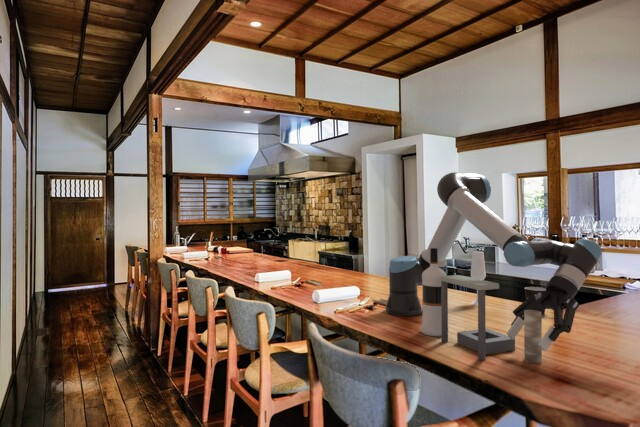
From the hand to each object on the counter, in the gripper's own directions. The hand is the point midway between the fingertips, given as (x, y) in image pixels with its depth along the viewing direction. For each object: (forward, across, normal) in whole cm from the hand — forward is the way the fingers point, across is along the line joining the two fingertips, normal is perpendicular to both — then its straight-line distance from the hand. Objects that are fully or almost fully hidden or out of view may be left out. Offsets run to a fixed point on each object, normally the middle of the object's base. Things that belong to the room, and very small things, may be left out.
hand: (525, 342), depth 116 cm
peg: (+2, 0, -6) cm, 6 cm away
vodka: (+9, +32, +1) cm, 34 cm away
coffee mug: (-31, +40, -40) cm, 65 cm away
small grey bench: (+9, +15, +1) cm, 17 cm away
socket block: (+4, +15, -4) cm, 16 cm away
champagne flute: (-24, +64, -33) cm, 76 cm away
